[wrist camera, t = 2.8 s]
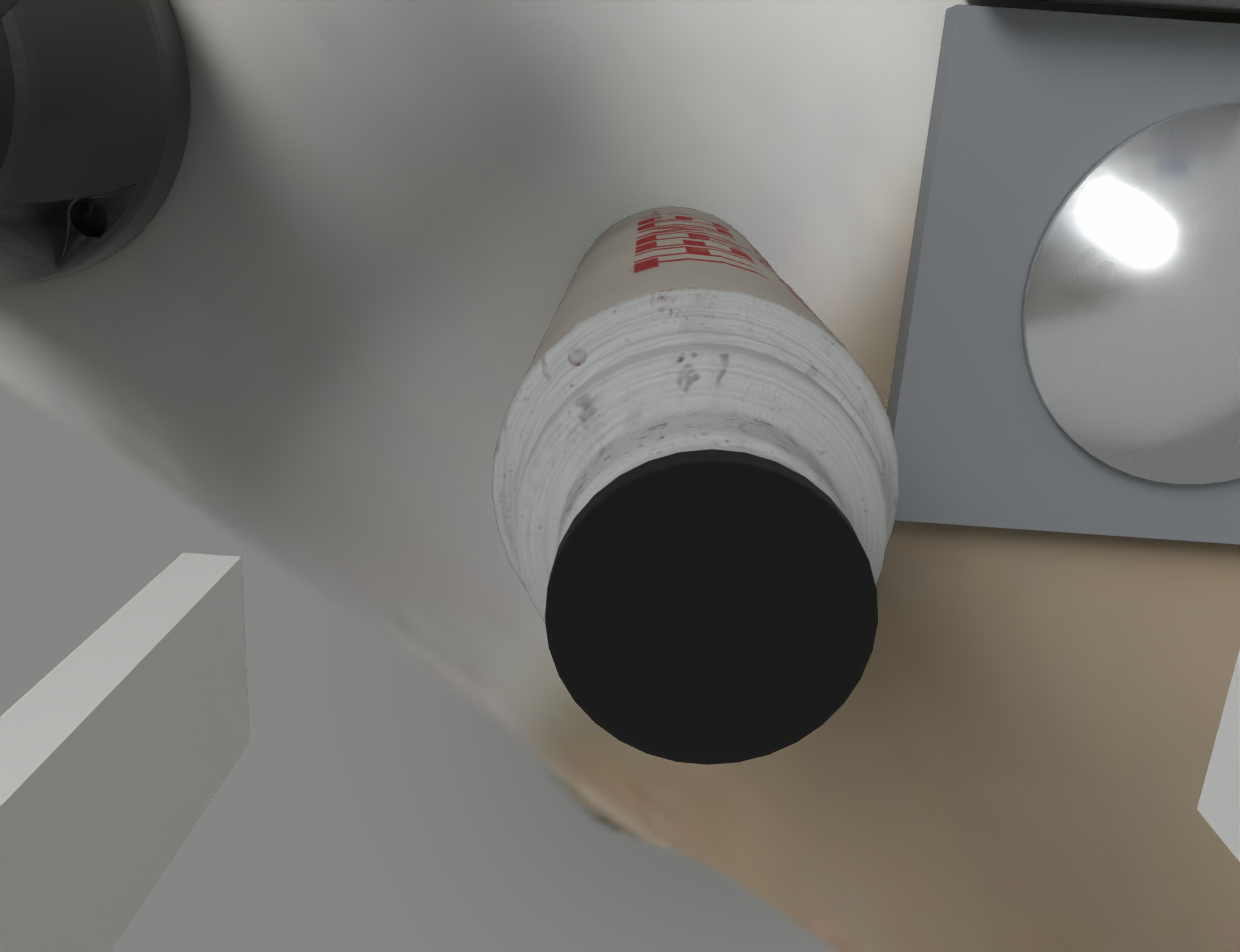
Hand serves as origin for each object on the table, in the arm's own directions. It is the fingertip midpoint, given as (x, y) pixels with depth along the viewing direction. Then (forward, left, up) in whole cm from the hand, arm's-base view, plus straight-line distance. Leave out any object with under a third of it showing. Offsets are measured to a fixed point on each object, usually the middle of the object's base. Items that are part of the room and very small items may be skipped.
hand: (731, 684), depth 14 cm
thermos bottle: (0, 0, -30) cm, 30 cm away
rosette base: (+20, +2, -29) cm, 36 cm away
